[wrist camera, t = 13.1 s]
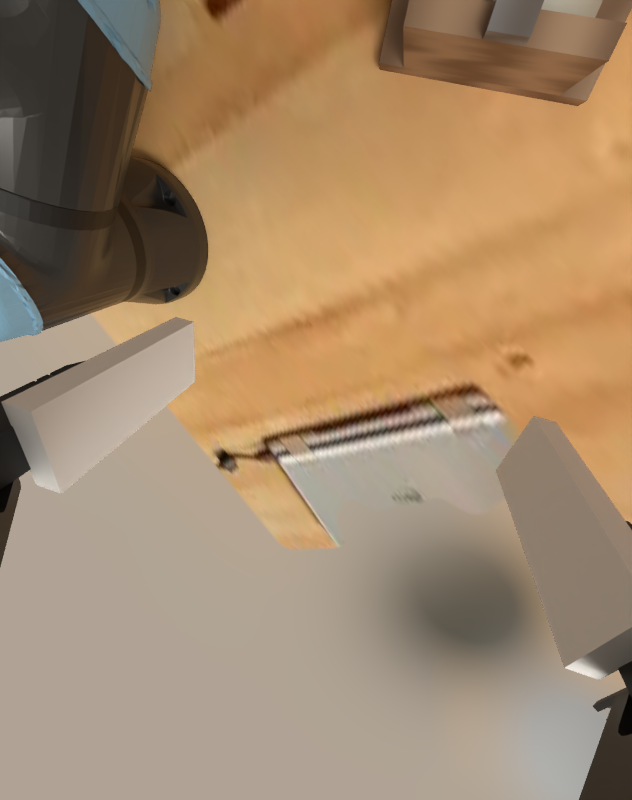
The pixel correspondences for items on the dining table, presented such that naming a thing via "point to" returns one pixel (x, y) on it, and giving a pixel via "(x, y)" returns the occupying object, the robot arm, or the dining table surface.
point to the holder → (506, 43)
